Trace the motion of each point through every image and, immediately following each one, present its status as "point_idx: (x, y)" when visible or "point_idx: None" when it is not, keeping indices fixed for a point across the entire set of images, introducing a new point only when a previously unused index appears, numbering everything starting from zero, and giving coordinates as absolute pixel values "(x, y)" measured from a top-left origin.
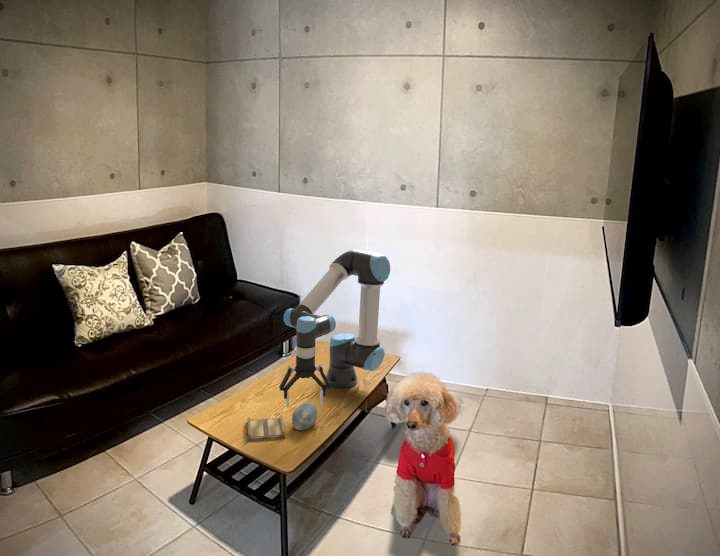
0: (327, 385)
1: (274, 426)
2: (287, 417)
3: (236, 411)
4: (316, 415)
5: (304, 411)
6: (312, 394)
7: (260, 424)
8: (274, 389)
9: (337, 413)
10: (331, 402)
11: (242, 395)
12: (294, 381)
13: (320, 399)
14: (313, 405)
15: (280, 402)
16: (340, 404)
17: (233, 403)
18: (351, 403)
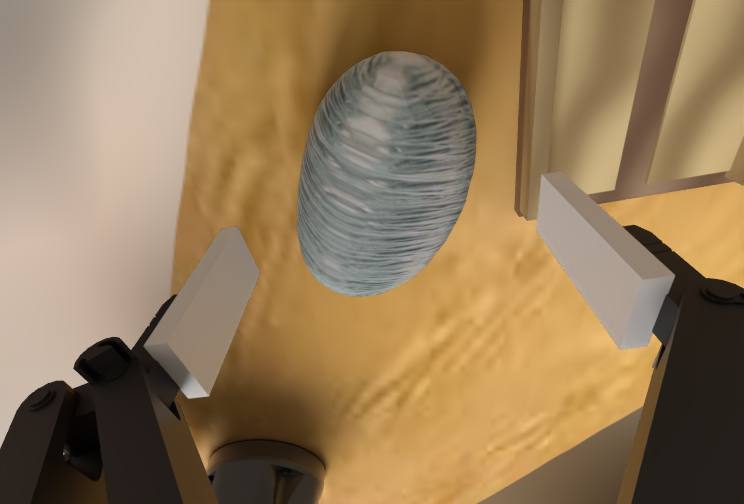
0: (44, 419)
1: (589, 97)
2: (478, 236)
3: (734, 279)
4: (298, 194)
5: (382, 147)
6: (362, 404)
7: (678, 122)
8: (512, 424)
9: None
10: (272, 361)
11: None
12: (669, 483)
13: (233, 274)
14: (322, 267)
15: (500, 353)
16: None
17: None
18: None
